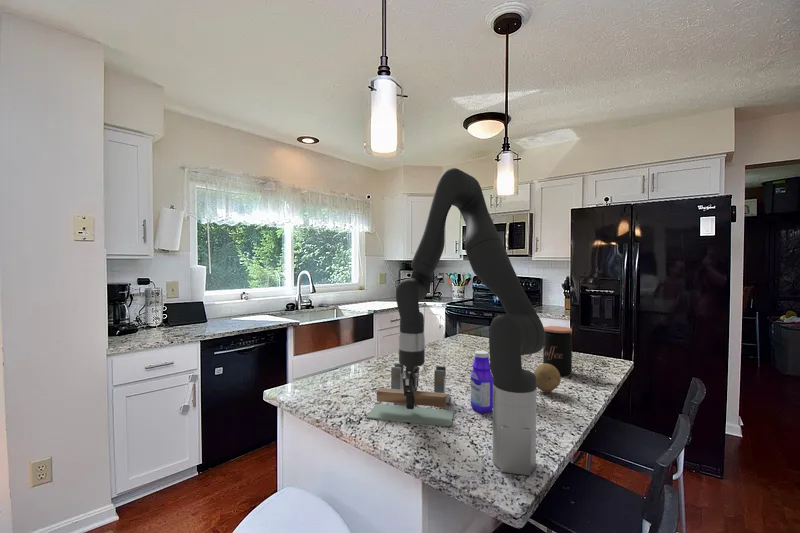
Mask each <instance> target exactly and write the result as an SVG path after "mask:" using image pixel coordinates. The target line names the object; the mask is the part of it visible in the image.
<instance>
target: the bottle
mask: <svg viewBox="0 0 800 533" xmlns="http://www.w3.org/2000/svg"><path fill="white" fill-rule="evenodd" d="M471 367H472V370H471V372H470V406H471V408H472V409H473V410H475V411H476V412H479V413H481V414H483V413H486V414H487V413H489V412H493V376H492V372H491V368H490V352H488V351H486V350H475V352H474V360H473V364H472V365H471Z"/></svg>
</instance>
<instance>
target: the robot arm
mask: <svg viewBox="0 0 800 533" xmlns="http://www.w3.org/2000/svg"><path fill="white" fill-rule="evenodd" d="M433 194H434V195H433V197H432V201H431V205H430V210H429V212H428V217H427V220H426V224H425V228H424V231H423V234H422V236H421V238H420V241H419V244H418V247H417V248H416V252H415V253H414V256H413V257H412V259H411V260H412V261H411V264H410V265H411V268H412V271H411V275H410V278H406V279H402V280H401V281H400V282H399V283H398V285H397V287H396V291H395V300H396V306H397V310H398V313H399V314H398V315H399V336H398V363H400V364H401V365H404V368H405V370H404V378H403V388H404V396H406V404H405V406H406V408H407V409H414V407H415V405H414V395H415V391H419V390H418V389H419V388H418V387H419V385H420V384H419V380H420V378H419V377H420V369H421V368H420V366H423V365H424V364H425V359H426V358H425V357H426V356H425V355H426V353H425V352H426V350H425V349H426V347H425V346H426V339H425V316H424V314H423V313H422V312H421V311H420V305H419V302H421V301H423V300H425V298H426V297H427V295H428V293H429V291H430V288H431V284H432V282H433V281H432V280H433V276H434V272H435V270H436V268H437V266H438V264H439V263H440V260H441V257H442V254H443V252H444V249H445V242H446V240H445V238H446V233H445V232H446V222H447V217H448V214H449V212H450V210H451V207H452V206H454V207H456V208H457V209H458V211H459V213H460V214H461V216H462V218H463V221H464V224H465V227H466V228H465V229H466V231H465V236H464V250H465V253H466V256H467V259H468V262H469V264H470V267H471V270H472V271H473V273H474V275H475V276H476V277H477V279H478V280H479V281H480V282H481V283H482V284H483V285H484V286H485V287H486V288H487V289H489V291H490V292H492V293H493V294H494V295H495V296H496V298H497V299H498V300H499V302H500V303H501V305H502V308H503V309H504V311H505V314H499V315H497V316H495V317H493V318H494V319H493V318H492V321H491V323H490V325H489V332H488V345H489V346H488V347H489V349H488V350H489V352H488V353H489V363H490V368H491V369H490V371H491V373H492V376H493V409H492V463H493V465H495V466H496V467H497V468H498V469H499V471H500V473H506V474H507V473H508V474H516V475H524V476H531V475H532V473H533V471H535V469H536V467H537V465H536V464H537V396H538V395H537V379H536V376H535V374H534V372H532V371H531V370H527V369H525V368H523V365H522V363H523V362H522V356H526V355H532V354H536V353H539V352H540V351H542V350H543V347H544V344H545V330H544V327H545V326H544V325H543V322H542V320H541V319H540V316H539V315H538V313H537V311H536V309H535V308H534V306H533V304H532V302H531V300H530V298H529V297H528V295H527V293H526V292H525V290H524V287H523V286H522V284H521V281H520V279H519V277H518V275H517V273H516V271H515V269H514V267H513V265H512V262H511V260H510V257H509V255H508V252H507V250H506V248H505V245H504V243H503V240H502V239H501V237H500V234H499V232H498V231H497V228H496V226H495V223H494V221H493V218H492V217H491V215H490V212H489V210H488V207H487V202H486V200H485V197H484V194H483V190H482V187H481V184H480V182H479V181H478V180H477V178H475V177H474V176H473V175H470V174H468V173H466V172H464V171H463V170H461V169H459V168H456V167H451V168H448V169H446V170H445V171H443V173H442V174H441V176H440V178H439V179H438V181H437V183H436V187H435V191H434V193H433ZM408 390H410V391H411V392H408Z"/></svg>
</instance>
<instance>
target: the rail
mask: <svg viewBox="0 0 800 533" xmlns="http://www.w3.org/2000/svg"><path fill="white" fill-rule="evenodd" d="M408 392H411V391H410V390H408ZM446 394H447V392H445V393H437V392H434V391H421V390H417V391H415V395H414V406H424V407H433V408H434V407H435V408H444V409H445V408H446V407H447V406H446ZM376 402H380V403H391V404H392V403H394V404H401V405H406V396H404V390H401V389H391V388H387V387H378V389H377V390H376Z"/></svg>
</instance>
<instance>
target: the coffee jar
mask: <svg viewBox="0 0 800 533" xmlns="http://www.w3.org/2000/svg"><path fill="white" fill-rule="evenodd" d="M543 327H544V330H545V344H544V347H543V348H542V350H543V355H542V358H543V359H542V360H543V361H542V362H543V363H542V364H544V363H546V364H551V365H553V366H554V367H555V368H556V369H557V370H558V371H559V374H560V377H569V375H571V373H572V372H573V368H572V367H573V365H572V364H573V335H572V332H573V329H572V328H570V327H567V326H561V325H560V326H559V325H557V326H556V325H547V326H543Z"/></svg>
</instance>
